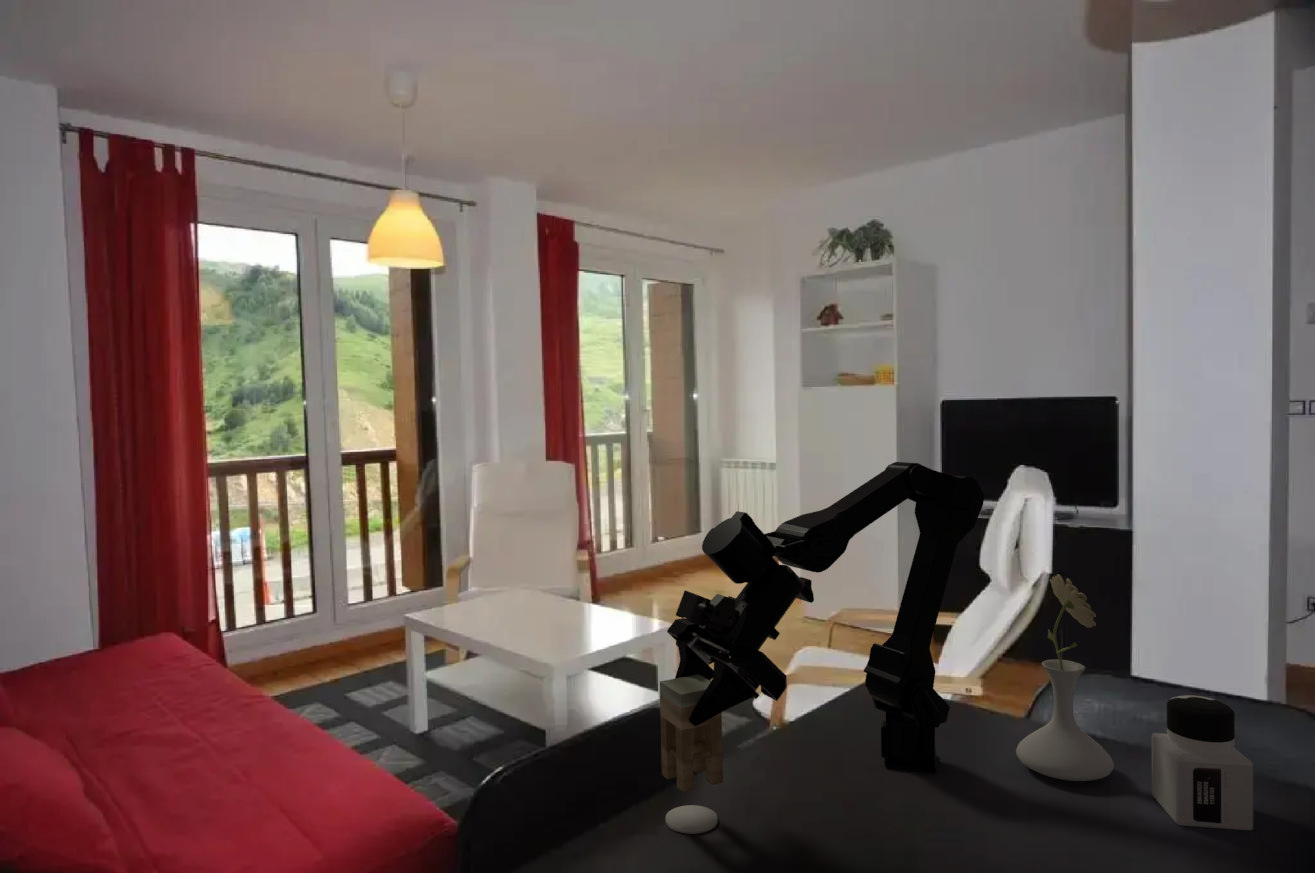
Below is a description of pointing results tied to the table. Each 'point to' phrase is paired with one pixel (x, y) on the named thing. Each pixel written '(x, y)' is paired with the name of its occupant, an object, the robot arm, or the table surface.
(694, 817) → the mat
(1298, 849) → the table surface
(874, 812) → the table surface
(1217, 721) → the container
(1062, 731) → the flower in vase
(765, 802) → the table surface
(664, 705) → the stool
